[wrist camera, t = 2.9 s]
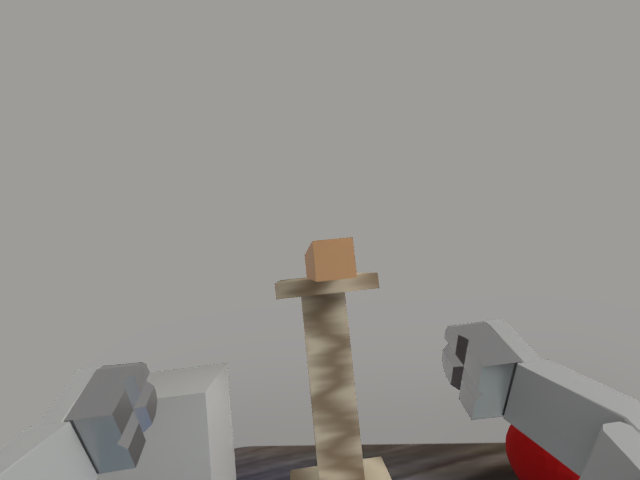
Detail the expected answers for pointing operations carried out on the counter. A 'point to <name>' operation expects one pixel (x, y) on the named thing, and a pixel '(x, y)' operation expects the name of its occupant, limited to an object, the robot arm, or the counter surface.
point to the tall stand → (332, 379)
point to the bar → (331, 260)
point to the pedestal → (187, 428)
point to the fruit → (534, 459)
